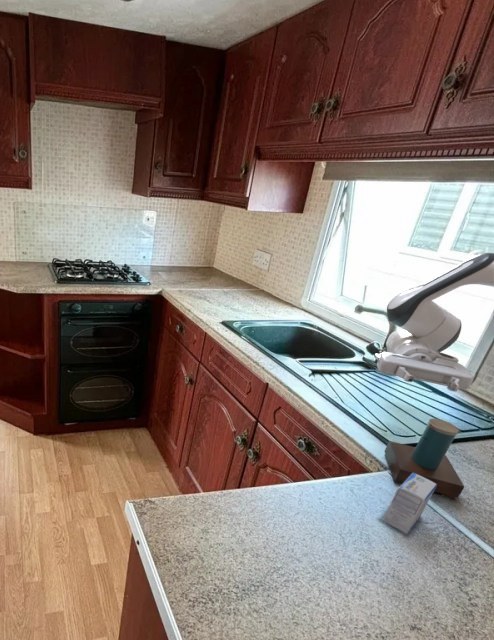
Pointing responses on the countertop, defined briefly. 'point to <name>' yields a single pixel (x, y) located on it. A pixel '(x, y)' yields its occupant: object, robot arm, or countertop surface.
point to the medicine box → (409, 502)
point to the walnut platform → (422, 470)
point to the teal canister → (434, 443)
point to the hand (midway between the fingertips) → (431, 383)
